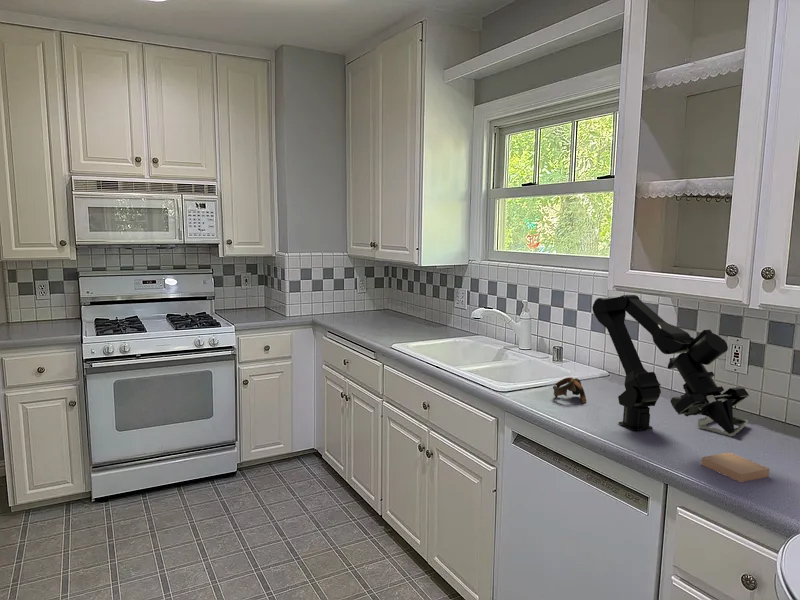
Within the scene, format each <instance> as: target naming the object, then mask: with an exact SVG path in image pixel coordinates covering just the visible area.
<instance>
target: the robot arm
mask: <svg viewBox="0 0 800 600" xmlns="http://www.w3.org/2000/svg"><path fill="white" fill-rule="evenodd" d="M591 308H592V312H593V314H594V317H595V319H596V320H597V321H598V323H600V324H601V325H602V326H603V327H604V328H605V329H606V330H607V331H608V334H609V336H610V339H611V342H612V343H613V346H614V348H615V351H616V353H617V356H618V358H619V361H620V363H621V365H622V367H623V371H624V372H625V378H624V379H625V380H624V388H625V390H624V391H623V392H622V393H620V395H618V396H617V398H618V404H619V405H621V406H623V415H622V421H619V422H618V425H620V426H622V427H625V428H627V429H629V430H632V431H633V432H639V431H645V430H652V429H653V426H651V425H650V422H651V421H650V420H651V413H650V412H651V411H650V409H651V408H650V407H655V406H656V404H657V401H658V400H659V398H660V396H661V393H662V390H661V386H662V384H661V383H660V381H659V380H658V378H657V374H656V372H654V371H647V369H646V368H644V365H643V364H642V361H641V359H640V357H639V354H638V352H637V349H636V347H635V345H634V343H633V340H632V338H631V336H630V335H631V334H630V333H629V331H628V329H627V326H626V324H625V320H626V315H627V314H626V313H628V314H629V316H630V317H632V319H634V320H635V322H638V324H639V325H641V327H642V328H643V329H645V330H646V331H647V332H648V333H649V334H650V335H651V337H652V341H653V343H654V345H655V346H656V347H657V348H658V350H659V351H660V352H661V353H662V354H663V355H675V354H678V355H677V356H676V357H669V361H668V365H667V369H669V370H671V369H672V370H673V369H676V370H677V371H678V373H679V374H680V376H681V378H682V379H683V381H684V384H682V386H683V387H682V388H683V390H684V392H685V393H683V394H682V395H680V396H673V397H672V398H671V399H670V403H671V406H672V408H673V409H674V410H675V412H676V413H677V415H684V416H685V417H689V416H690V417H691V416H700V415H701V416H705V417H706V416H708V417H710V418H711V419H712V420H713V422H714V423H715V424H716V425H718V426H719V427H720V428H722V430H723V431H726V432H727V433H728V434H732V433H734V429H735V424H734V422H733V417H734V413H733V412H734V409H733V408H734V407H735V406H736V405H738V404H739V403H741V402H742V401H744V400H745V399H746V398H747V399H748V397H749V396H750V394H749V393H748V391H747V390H746V389H745V388H744V387H741V386H738V387H737V386H736V387H729V388H728V389H727V390H725V389H724V387H723V386H722V385H721V386H718V385H717V384H716V382H715V381H714V378H713V377H714V376H715V373H714V372H713V371H708V369H706V365H708V366H709V365H711V364H712V363H713V362H715V361H716V360H717V359H718V358H720V357H721V356H722V355H724V354H725V353H727V351H728V350H729V346H728V344H727V341H726V340H725V339H723V338H722V337H721V336H720V335H718V334H716V333H713V332H712V330H711V329H703V330H702V331H701V332H700V333H699V334H698V335H697V336H696V337H692V336H691V335H690V334H689V332H687V331H685V330H684V329H683V328H680V327H678V326H676V325H674V324H670V323H668V322H666V321H665V320H664V319H663V318H661V316H660V315H658V314H657V313H656V312H655V311H653V310H652V309H651V308H650V307H649V306H647V304H645V303H644V302H643V300H641V299H640V297H639V296H638V295H635V294H623V295H621V296H617V297H616V296H615V297H599V298H596V299H595V300H594V302H593V304H592V307H591ZM722 392H723V393H722Z"/></svg>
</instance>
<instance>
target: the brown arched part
mask: <svg viewBox="0 0 800 600" xmlns="http://www.w3.org/2000/svg"><path fill="white" fill-rule="evenodd" d="M552 389H553V396H554V398H558V396H565V397H568V395H567V394H568V393H567V392H568V391H569V392H572V395H575V396H579V397H580V400H581V402H582V405H583V404H586V402H587V397H586V394H585V393H586V392H585V390H584V388H583V386H582V382H581V380H580V379H579V378H576V377H575V378H573V377H571V376H570V377H565V378H562V379H560V380H559V381H557V382H556V383H555V385H553V386H552Z"/></svg>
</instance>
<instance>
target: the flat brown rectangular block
mask: <svg viewBox="0 0 800 600" xmlns="http://www.w3.org/2000/svg"><path fill="white" fill-rule="evenodd" d="M701 464H702V465H701V466H703V467H706V468H708V469H710V470H712V469H713V470H712V471H714V470H716V471H718V472H717V473H719V472H720V473H719V474H721V473H722V474H721V475H723V474H725V475H727V476H729V477H731V478H730V479H732V478H733V479H732V480H734V479H735V480H734V481H736V480H738V481H739V482H738V481H737V482H738V483H740V482H741V483H744V482H743V481H746V482H748V481H747V480H750V481H754V479H755V480H760V479H763V478H769V474H770V468H769V467H766V466H764V465H761V464H760V463H758V462H755V461H752V460H749V459H747V458H744V457H742V456H740V455H738V454H735V453H732V452H729V451H728V452H723V453H718V454H711V455H706V456H702V458H701ZM716 471H715V472H716ZM725 475H724V476H725ZM727 476H726V477H727ZM729 477H728V478H729Z"/></svg>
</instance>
